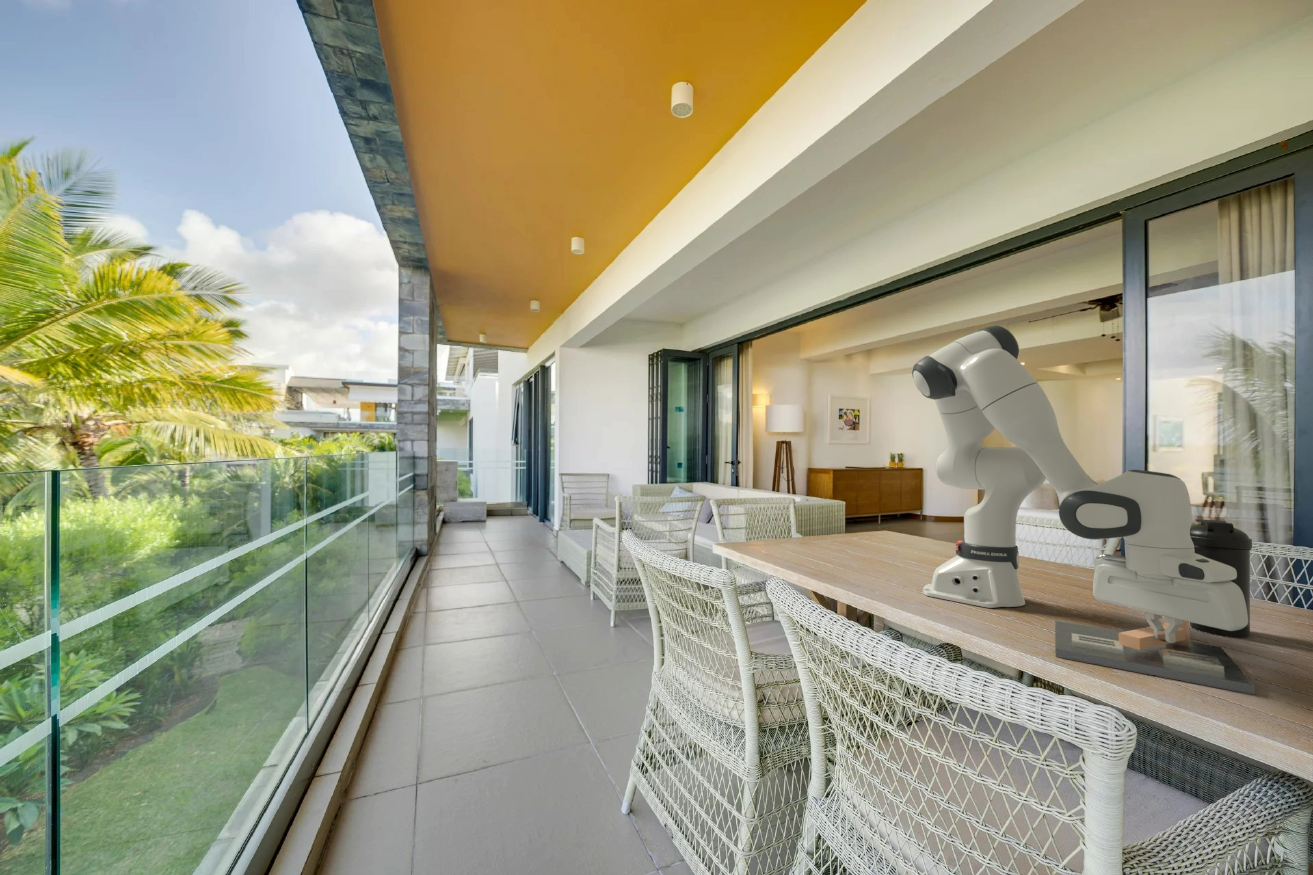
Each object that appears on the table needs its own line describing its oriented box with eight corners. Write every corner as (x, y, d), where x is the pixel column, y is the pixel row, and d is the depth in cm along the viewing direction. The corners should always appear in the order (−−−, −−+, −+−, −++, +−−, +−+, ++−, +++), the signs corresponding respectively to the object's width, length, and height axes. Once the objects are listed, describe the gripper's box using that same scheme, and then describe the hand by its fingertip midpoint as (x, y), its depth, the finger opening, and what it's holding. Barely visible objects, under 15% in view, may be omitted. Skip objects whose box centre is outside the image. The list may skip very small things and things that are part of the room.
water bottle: (1245, 628, 108) (1240, 520, 108) (1265, 643, 99) (1260, 525, 100) (1178, 619, 113) (1173, 516, 114) (1192, 632, 105) (1187, 521, 106)
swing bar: (1171, 638, 97) (1170, 612, 97) (1193, 644, 94) (1192, 617, 94) (1118, 650, 91) (1117, 623, 91) (1140, 656, 88) (1139, 628, 88)
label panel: (1055, 656, 92) (1055, 642, 92) (1055, 627, 108) (1055, 615, 108) (1254, 694, 78) (1253, 677, 78) (1221, 654, 93) (1220, 640, 93)
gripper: (1082, 553, 99) (1086, 625, 98) (1226, 574, 79) (1233, 664, 78) (1104, 551, 101) (1109, 621, 100) (1250, 571, 81) (1257, 659, 80)
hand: (1164, 640), depth 89 cm, fingers closed
